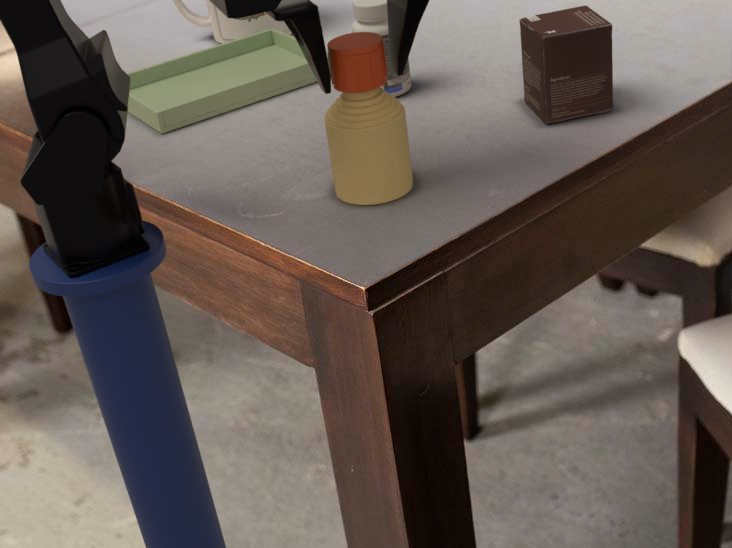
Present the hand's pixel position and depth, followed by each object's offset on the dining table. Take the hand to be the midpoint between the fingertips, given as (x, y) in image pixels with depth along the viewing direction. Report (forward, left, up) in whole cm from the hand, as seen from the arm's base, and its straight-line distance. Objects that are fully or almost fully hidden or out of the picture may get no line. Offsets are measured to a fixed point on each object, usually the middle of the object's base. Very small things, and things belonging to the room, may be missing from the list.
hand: (362, 83), depth 80 cm
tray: (+2, +31, -8) cm, 32 cm away
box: (+20, +1, -8) cm, 22 cm away
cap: (0, 0, 0) cm, 0 cm away
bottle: (0, 0, -8) cm, 8 cm away
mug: (+12, +45, -8) cm, 47 cm away
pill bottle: (+12, +17, -8) cm, 22 cm away
